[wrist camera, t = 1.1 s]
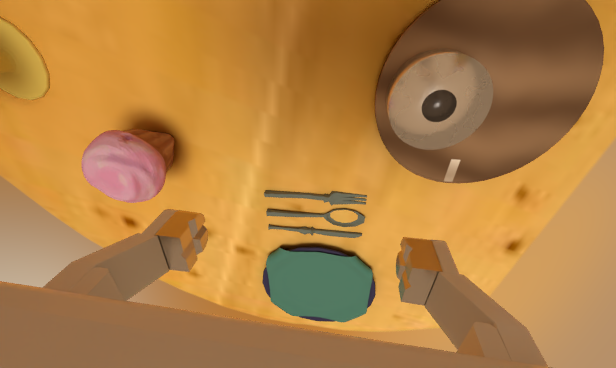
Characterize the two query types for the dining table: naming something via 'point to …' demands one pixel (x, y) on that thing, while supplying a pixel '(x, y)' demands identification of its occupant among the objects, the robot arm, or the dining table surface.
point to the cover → (438, 98)
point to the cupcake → (128, 163)
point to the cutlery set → (319, 269)
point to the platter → (503, 80)
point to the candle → (21, 64)
